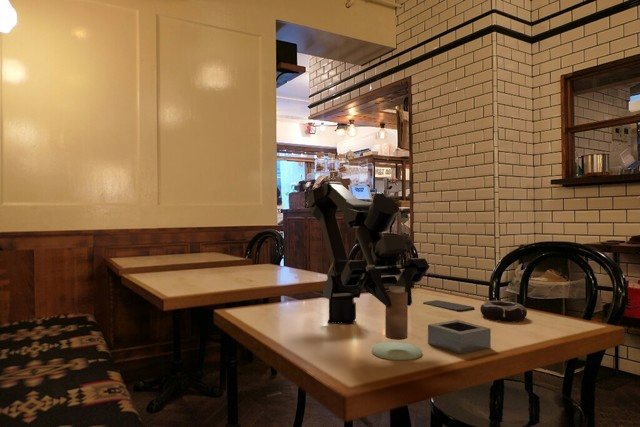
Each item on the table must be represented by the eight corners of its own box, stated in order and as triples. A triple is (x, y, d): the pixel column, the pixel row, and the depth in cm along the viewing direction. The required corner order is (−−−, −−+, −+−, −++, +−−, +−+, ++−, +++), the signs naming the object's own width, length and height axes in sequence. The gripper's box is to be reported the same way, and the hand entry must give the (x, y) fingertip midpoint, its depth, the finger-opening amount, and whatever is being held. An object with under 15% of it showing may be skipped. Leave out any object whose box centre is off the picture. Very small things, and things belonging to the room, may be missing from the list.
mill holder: (460, 354, 86) (460, 334, 86) (427, 343, 94) (427, 324, 94) (490, 347, 91) (490, 328, 91) (457, 337, 98) (457, 319, 98)
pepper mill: (381, 337, 87) (381, 287, 87) (391, 332, 91) (392, 284, 91) (401, 341, 85) (401, 289, 85) (411, 336, 88) (411, 287, 88)
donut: (472, 317, 119) (472, 303, 119) (492, 311, 126) (492, 297, 127) (514, 325, 110) (514, 310, 110) (534, 318, 118) (534, 303, 118)
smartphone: (437, 299, 142) (476, 307, 129) (437, 302, 141) (476, 310, 129) (421, 302, 138) (459, 309, 125) (421, 305, 137) (459, 313, 125)
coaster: (370, 358, 83) (370, 355, 83) (372, 343, 93) (372, 341, 93) (423, 361, 82) (423, 358, 82) (420, 346, 92) (420, 343, 92)
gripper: (346, 221, 88) (371, 283, 78) (424, 221, 95) (457, 278, 84) (331, 256, 96) (352, 317, 85) (405, 254, 102) (432, 310, 92)
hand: (399, 305), depth 86 cm, fingers closed on pepper mill, 4 cm apart
